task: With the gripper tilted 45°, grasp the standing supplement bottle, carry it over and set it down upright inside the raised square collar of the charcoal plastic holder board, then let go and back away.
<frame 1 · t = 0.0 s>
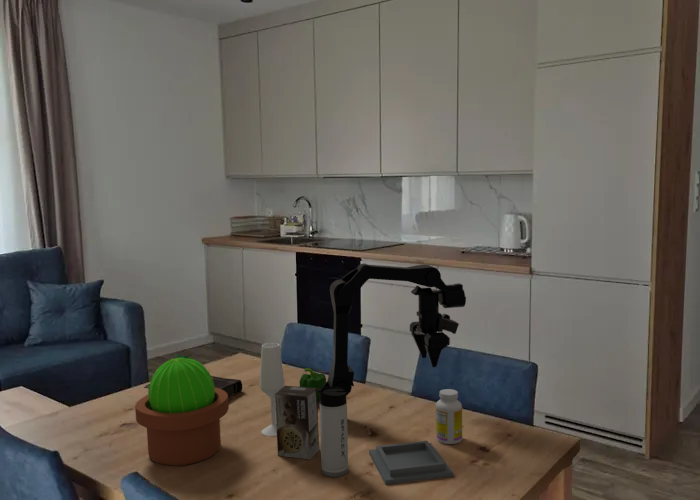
hand: (429, 362, 179), 15 cm above the table, tool pointing down, fingers open, 9 cm apart
bell pepper: (314, 400, 192), on the table
holder board: (409, 464, 148), on the table
cookie box: (298, 453, 156), on the table
travel mug: (334, 472, 145), on the table
champagne flute: (273, 431, 169), on the table
diary: (193, 397, 199), on the table
potted cactus: (185, 451, 158), on the table
supplement bottle: (449, 440, 161), on the table
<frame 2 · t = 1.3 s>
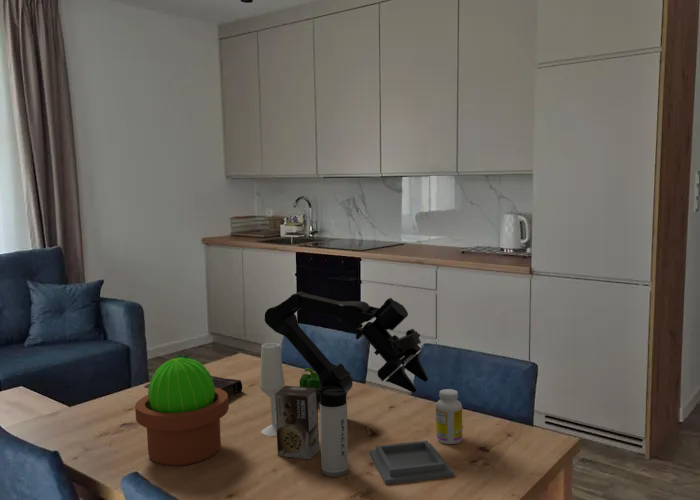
hand: (421, 386, 163), 13 cm above the table, tool tilted 45°, fingers open, 9 cm apart
nothing on the table moved.
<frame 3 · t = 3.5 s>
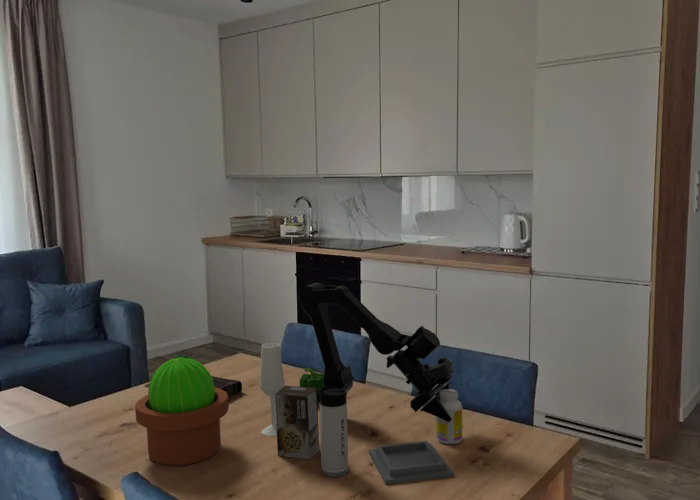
hand: (454, 416, 160), 7 cm above the table, tool tilted 45°, fingers closed on supplement bottle, 7 cm apart
supplement bottle: (449, 440, 161), on the table, touching gripper
everything else where it was.
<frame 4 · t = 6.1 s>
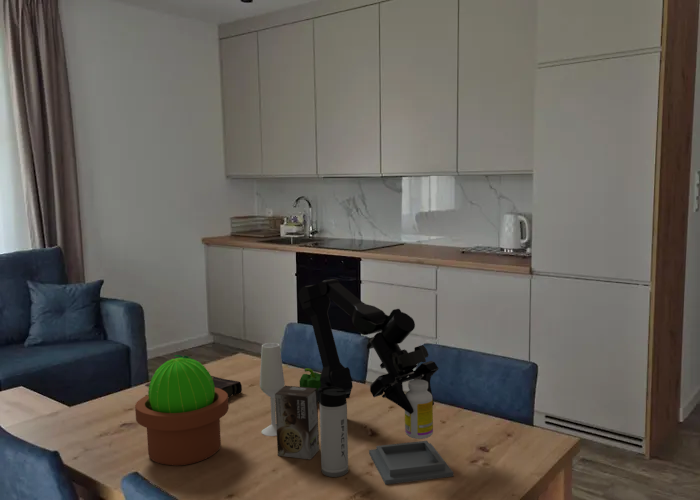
hand: (422, 409, 147), 13 cm above the table, tool tilted 45°, fingers closed on supplement bottle, 7 cm apart
supplement bottle: (418, 434, 149), point 6 cm above the table, touching gripper
everything else where it was.
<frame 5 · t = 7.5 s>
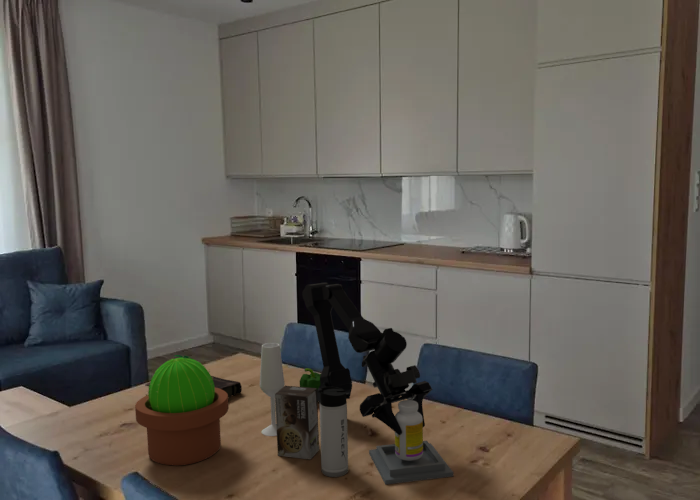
hand: (412, 430, 146), 9 cm above the table, tool tilted 45°, fingers closed on supplement bottle, 7 cm apart
supplement bottle: (409, 456, 148), point 2 cm above the table, touching gripper
when the fingers open (9 cm above the table, at t = 8.7 s): supplement bottle drops 1 cm, resting on holder board.
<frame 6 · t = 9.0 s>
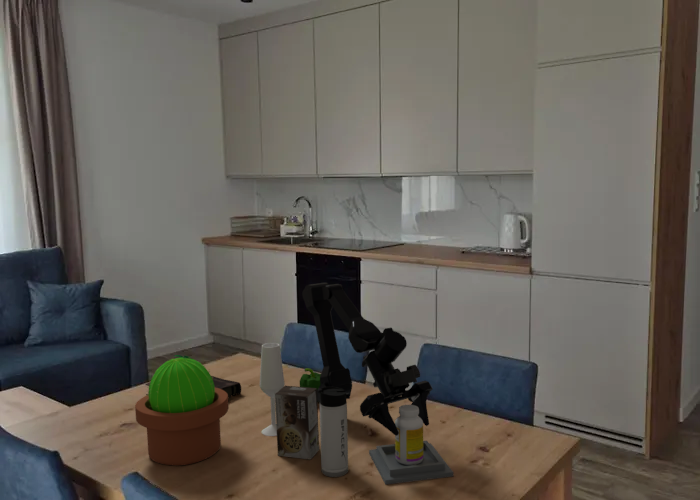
hand: (412, 429, 146), 9 cm above the table, tool tilted 45°, fingers open, 9 cm apart
supplement bottle: (409, 460, 148), point 1 cm above the table, touching holder board
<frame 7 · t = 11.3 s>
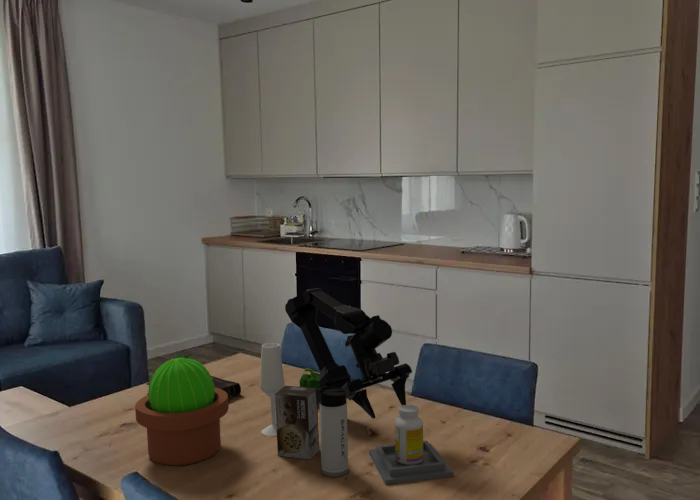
hand: (389, 412, 155), 9 cm above the table, tool tilted 35°, fingers open, 9 cm apart
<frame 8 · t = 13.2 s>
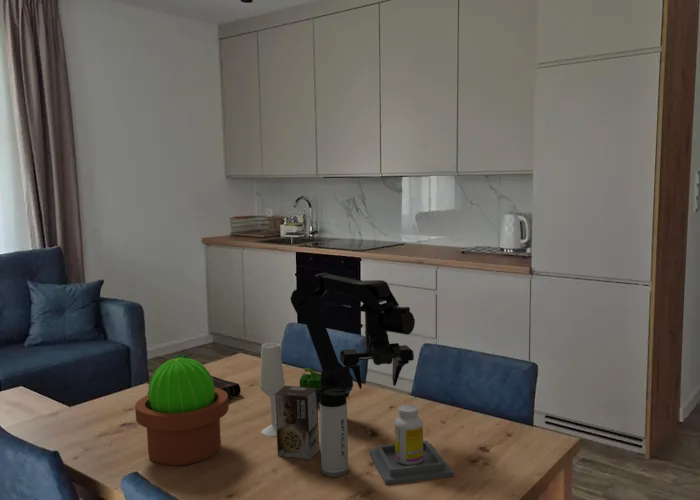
hand: (377, 386, 164), 13 cm above the table, tool pointing down, fingers open, 9 cm apart
at the end: supplement bottle 0.3 cm off-centre on the holder board, point 0.8 cm above the holder board's base; supplement bottle tilted 0°; the gripper is holding nothing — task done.
